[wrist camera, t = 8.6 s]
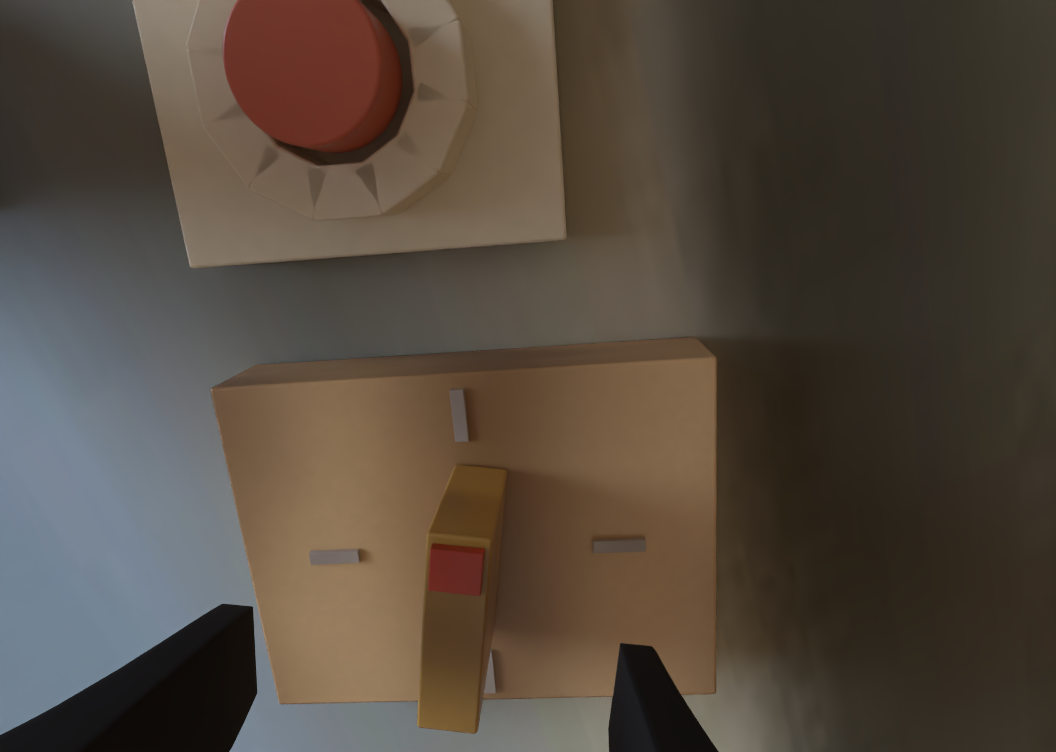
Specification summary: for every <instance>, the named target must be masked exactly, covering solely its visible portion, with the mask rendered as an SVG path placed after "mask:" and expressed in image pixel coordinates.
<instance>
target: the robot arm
mask: <svg viewBox="0 0 1056 752" xmlns="http://www.w3.org/2000/svg"><path fill="white" fill-rule="evenodd" d="M256 695H257V679H256V660H255V640H254V621H253V607H250V606H240V605H230V604H221V605H219V606H218V607H216V608H214V609H213V610H211V611H209V612H208V613H206V614H204V615H203V616H201V617H200V618H198V619H197V620H195V621H193V622H192V623H190V624H189V625H187V626H186V627H184V628H183V629H181V630H179V631H178V632H176V633H175V634H173V635H172V636H170V637H169V638H167V639H166V640H164V641H162V642H161V643H159V644H158V645H156V646H155V647H153V648H151V649H150V650H148V651H147V652H145V653H144V654H142V655H140V656H139V657H137V658H136V659H134V660H133V661H131V662H129V663H128V664H126V665H125V666H123V667H121V668H120V669H118V670H117V671H115V672H113V673H111V674H110V675H108V676H106V677H105V678H103V679H101V680H100V681H98V682H96V683H94V684H93V685H91V686H89V687H88V688H86V689H84V690H83V691H81V692H79V693H77V694H76V695H74V696H72V697H71V698H69V699H67V700H66V701H64V702H62V703H60V704H59V705H57V706H55V707H53V708H51V709H50V710H48V711H46V712H44V713H42V714H40V715H39V716H37V717H35V718H33V719H31V720H29V721H27V722H25V723H23V724H21V725H20V726H18V727H16V728H14V729H12V730H10V731H8V732H6V733H4V734H2V735H0V752H229V751H230V749H231V748H232V746H233V744H234V742H235V740H236V738H237V736H238V734H239V732H240V729H241V727H242V725H243V723H244V721H245V719H246V717H247V715H248V712H249V710H250V708H251V706H252V703H253V701H254V699H255V697H256ZM608 730H609V752H718V750H717V749H716V747H715V746H714V745H713V743H712V742H711V740H710V739H709V737H708V736H707V734H706V733H705V731H704V730H703V728H702V727H701V725H700V724H699V722H698V721H697V719H696V718H695V716H694V715H693V713H692V711H691V710H690V708H689V707H688V705H687V704H686V702H685V700H684V699H683V697H682V695H681V694H680V692H679V690H678V689H677V687H676V685H675V684H674V682H673V680H672V678H671V677H670V675H669V673H668V671H667V670H666V668H665V666H664V664H663V663H662V661H661V659H660V657H659V655H658V653H657V652H656V650H655V649H654V648H653V647H652V646H646V645H636V644H626V643H620V648H619V655H618V663H617V670H616V677H615V685H614V692H613V699H612V707H611V714H610V721H609V729H608Z"/></svg>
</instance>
